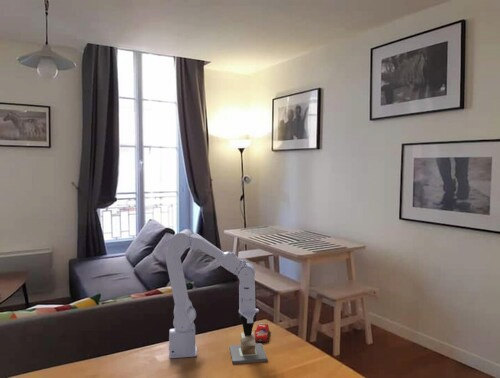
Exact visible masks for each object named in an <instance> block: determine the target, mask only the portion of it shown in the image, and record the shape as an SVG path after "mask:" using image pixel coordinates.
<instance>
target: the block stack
mask: <svg viewBox="0 0 500 378" xmlns="http://www.w3.org/2000/svg"><path fill="white" fill-rule="evenodd" d="M255 344H256V341H255V333H254V331H252V333H251V336H245V334H244V332H240V345H241V351H242V355H247V354H255Z"/></svg>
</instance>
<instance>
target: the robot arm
mask: <svg viewBox="0 0 500 378" xmlns="http://www.w3.org/2000/svg"><path fill="white" fill-rule="evenodd" d="M168 243H169V244H168V246H167V250H166V252H165V257H164V258H165V262H166V263H165V264H166V267H167V273H168V278H169V282H170V287H171V288H170V289H171V292H172V293H171V294H172V298H173V302H174V308H173V317H174V318H173V321H172V324H173V327H174V328H170V329H169V335H168V351H169V359H175V358H176V359H178V358H180V359H181V358H193V357H194V358H195V357H197V356H198V351H197V350H198V347H197V345H196V325H195V323H194V321H195V319H196V318H197V311H196V309H195V308H194V307H193V304H192V301H191V300H190V298H189V294H188V288H187V283H186V279H185V274H184V269H183V264H182V263H183V262H182V259H181V257H182V256H183V255H184V253H185V252H186V250H187V249H188V248H189V250H190V251H191V250H201V252H202V251H203V252H204V253H205V254H207V255H208V256H211V257H212V258H215V259H216V260H218V262H219V265H220V266H221V267H223V268H224V269H225V270H227V271H228V272H230V273H231V274H233V275H236V276H237V278H238V281H239V285H238V294H239V295H238V305H239V307H238V308H239V309H238V314H239V315H238V317H239V320H240V322H241V324H242V329H243V333H244V334H245V336H251V333H252V332H253V327H254V326H255V325H254V324H255V323H256V321H257V317H256V313H259V312H260V310H259V308H256V284H255V283H256V279H255V277H256V267H255V266H254V264H253V263H252V262H250V261H247V260H246V259H242V258H240V257H238V255H236V253H235V252H234V251H223V250H221V249H220V248H218V247H217V246H215V245H214V244H213V243H211V242H210V241H208V240H207V239H206V238H204V237H203V236H202V235H200V233H199V234H198V233H197V232H194V231H193V230H191V229H188V228H185V229H182V230H181V231H179V232H177V233H176V234H174V235H173V236H172V238H171V239H170V240H169V242H168Z"/></svg>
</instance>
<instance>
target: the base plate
mask: <svg viewBox="0 0 500 378" xmlns="http://www.w3.org/2000/svg"><path fill="white" fill-rule="evenodd" d="M262 343H263V342H256V343H255V354H247V355H242V351H241V344H232V345H229V352H230V357H231V363H232V365H236V364H237V365H238V364H248V363H249V364H251V363H262V362H263V363H264V362H268V356H267V353H266V351H265V349H264V347H263V346H264V345H263V344H262Z"/></svg>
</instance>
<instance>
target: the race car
mask: <svg viewBox="0 0 500 378" xmlns="http://www.w3.org/2000/svg"><path fill="white" fill-rule="evenodd" d="M254 332H255V333H254V335H255V343H265V342H266V343H267V342H268V339H269V334H270V327H269V324H268V323H266V322H265V323H262V322H261V323H258V324H257V325H256V328H255V330H254Z"/></svg>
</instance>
